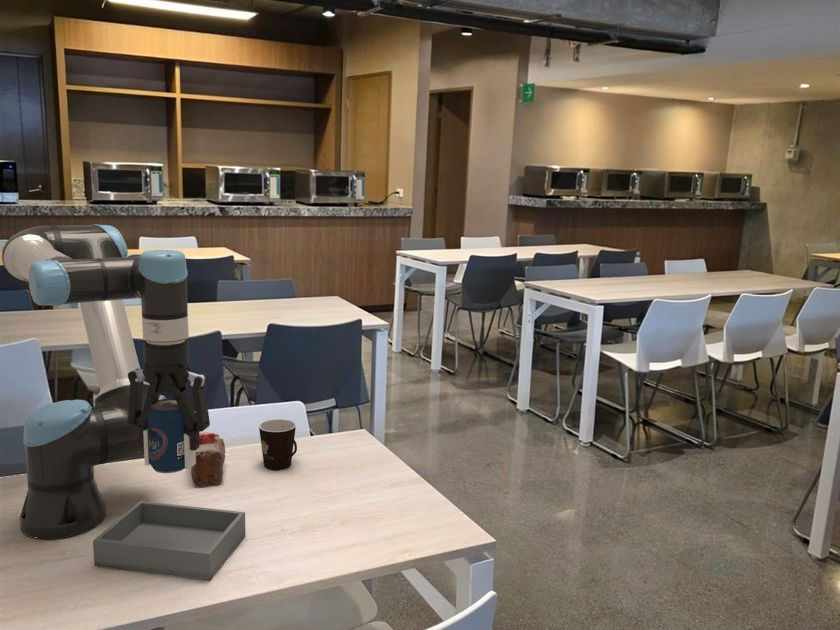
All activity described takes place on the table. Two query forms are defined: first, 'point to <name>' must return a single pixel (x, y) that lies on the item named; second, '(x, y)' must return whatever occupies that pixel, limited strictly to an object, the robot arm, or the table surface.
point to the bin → (170, 540)
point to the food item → (209, 461)
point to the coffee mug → (277, 443)
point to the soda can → (166, 436)
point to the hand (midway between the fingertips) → (170, 464)
